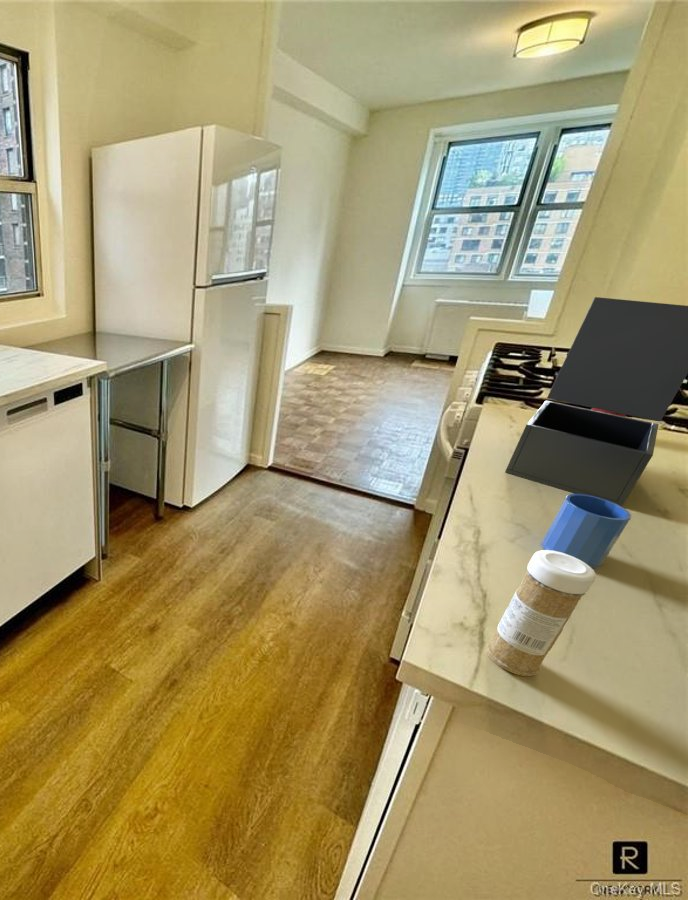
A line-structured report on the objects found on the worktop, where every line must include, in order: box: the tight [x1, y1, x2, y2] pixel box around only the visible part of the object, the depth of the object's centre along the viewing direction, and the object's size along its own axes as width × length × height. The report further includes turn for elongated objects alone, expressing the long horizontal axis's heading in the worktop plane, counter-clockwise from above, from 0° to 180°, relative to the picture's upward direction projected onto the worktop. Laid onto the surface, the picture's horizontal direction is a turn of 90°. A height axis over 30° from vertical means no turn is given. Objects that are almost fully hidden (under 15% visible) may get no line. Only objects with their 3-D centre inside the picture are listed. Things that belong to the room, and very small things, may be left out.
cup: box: [541, 493, 632, 569], centre depth 67 cm, size 6×6×8 cm
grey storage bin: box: [504, 400, 659, 507], centre depth 88 cm, size 19×16×10 cm
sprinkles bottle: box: [485, 549, 597, 677], centre depth 49 cm, size 5×5×13 cm
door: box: [546, 296, 688, 423], centre depth 88 cm, size 20×16×1 cm
